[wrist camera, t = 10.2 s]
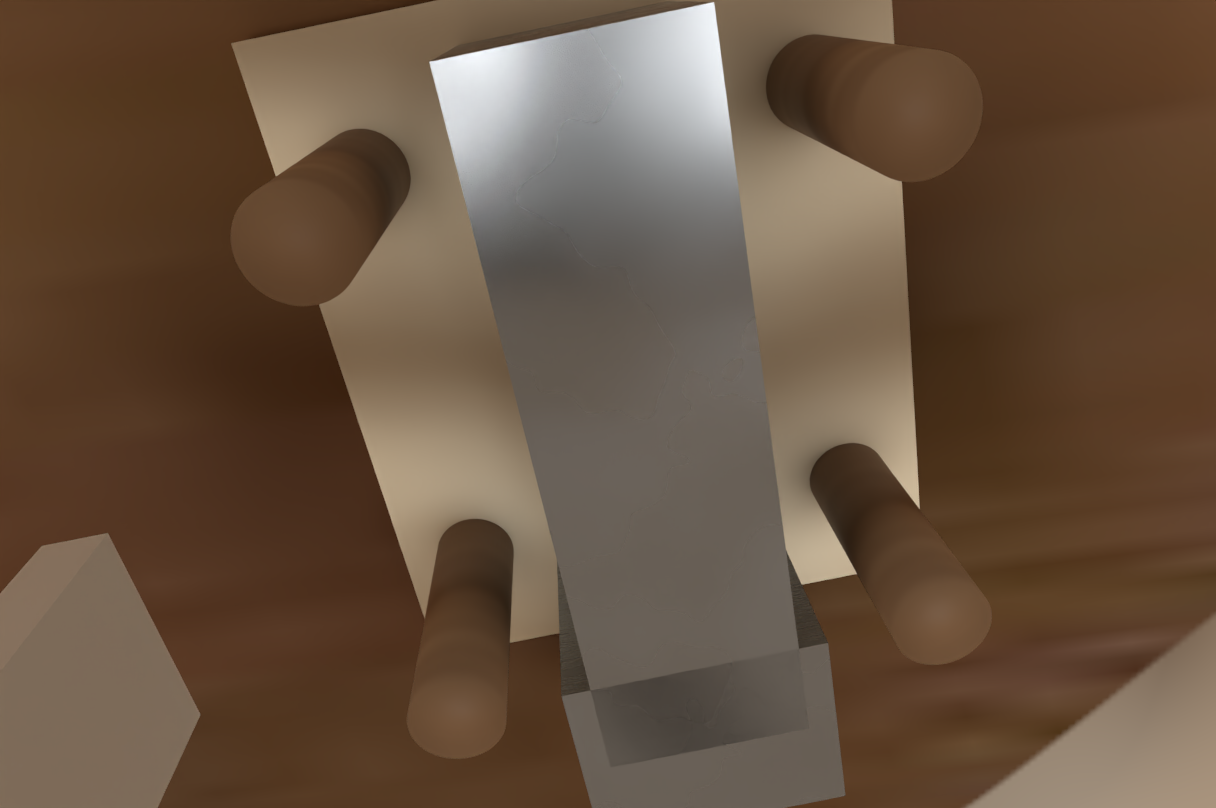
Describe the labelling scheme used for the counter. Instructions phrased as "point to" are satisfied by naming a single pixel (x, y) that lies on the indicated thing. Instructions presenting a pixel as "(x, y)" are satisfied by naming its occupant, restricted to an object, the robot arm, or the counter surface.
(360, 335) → the rack
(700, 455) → the grey metal bar
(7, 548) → the counter surface
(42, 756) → the robot arm
